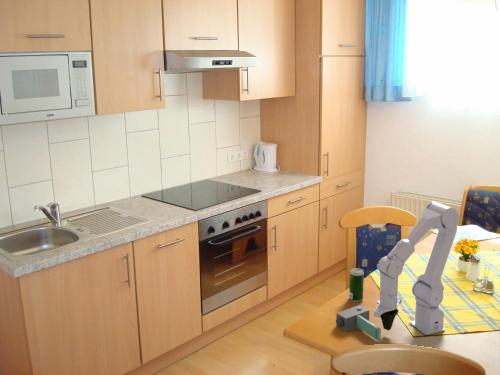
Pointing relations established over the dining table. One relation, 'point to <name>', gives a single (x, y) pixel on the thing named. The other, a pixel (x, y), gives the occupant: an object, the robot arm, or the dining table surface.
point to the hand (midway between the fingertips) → (387, 328)
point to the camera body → (350, 317)
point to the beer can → (356, 285)
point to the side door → (369, 328)
